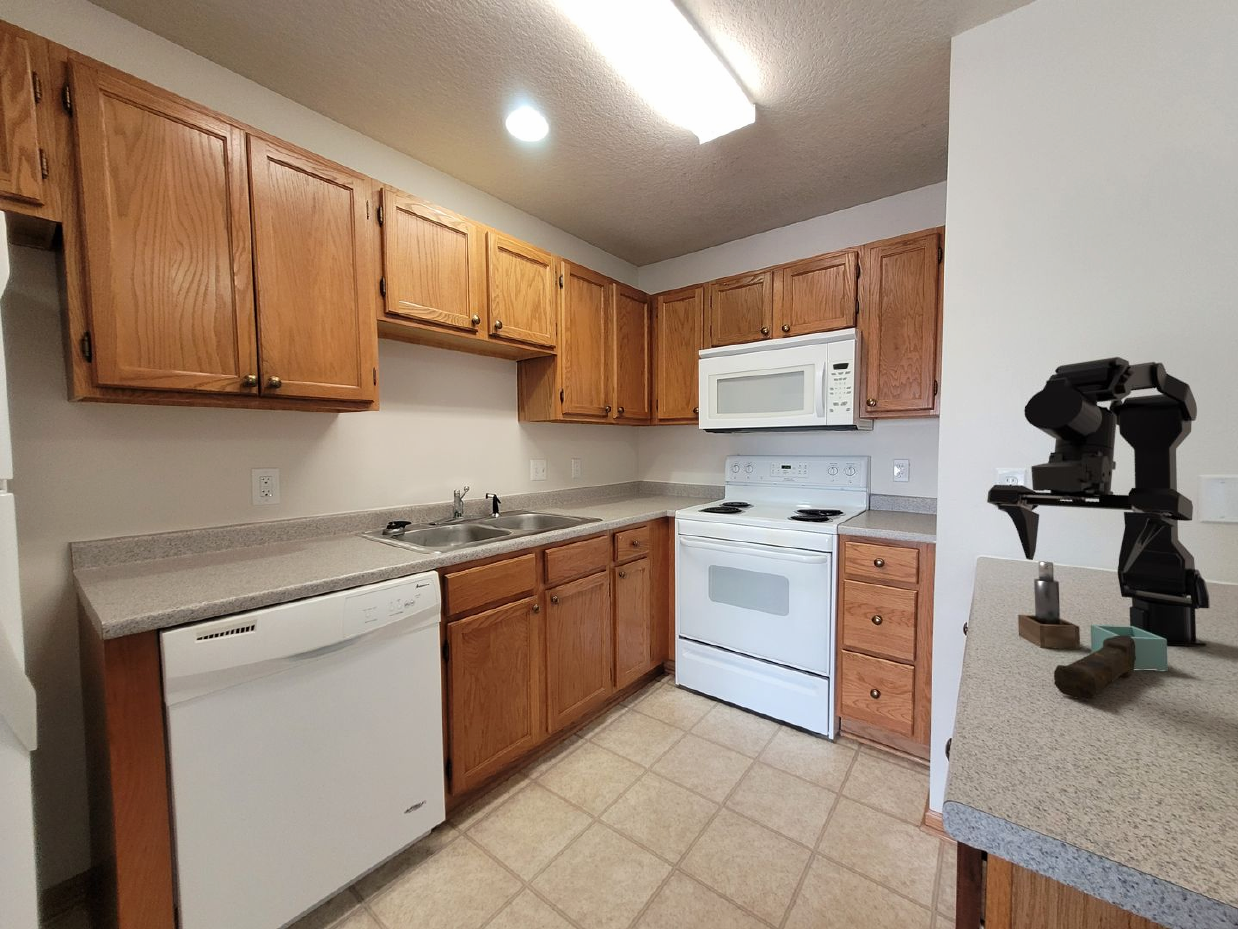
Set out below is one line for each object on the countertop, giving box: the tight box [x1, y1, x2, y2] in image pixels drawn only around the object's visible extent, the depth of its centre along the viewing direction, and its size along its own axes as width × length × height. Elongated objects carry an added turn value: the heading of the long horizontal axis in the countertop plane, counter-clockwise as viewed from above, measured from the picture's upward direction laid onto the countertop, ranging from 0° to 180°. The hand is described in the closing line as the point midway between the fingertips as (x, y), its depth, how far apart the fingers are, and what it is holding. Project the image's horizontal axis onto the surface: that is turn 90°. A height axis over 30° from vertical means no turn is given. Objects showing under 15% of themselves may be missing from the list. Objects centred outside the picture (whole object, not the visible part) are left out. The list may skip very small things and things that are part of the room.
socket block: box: [1017, 614, 1081, 650], centre depth 77 cm, size 5×5×4 cm
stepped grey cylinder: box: [1033, 560, 1061, 625], centre depth 77 cm, size 3×3×13 cm
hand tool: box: [1053, 635, 1136, 701], centre depth 63 cm, size 19×4×5 cm, turn 115°
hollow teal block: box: [1090, 624, 1169, 671], centre depth 69 cm, size 5×5×4 cm
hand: (1072, 565), depth 62 cm, fingers open, 9 cm apart
